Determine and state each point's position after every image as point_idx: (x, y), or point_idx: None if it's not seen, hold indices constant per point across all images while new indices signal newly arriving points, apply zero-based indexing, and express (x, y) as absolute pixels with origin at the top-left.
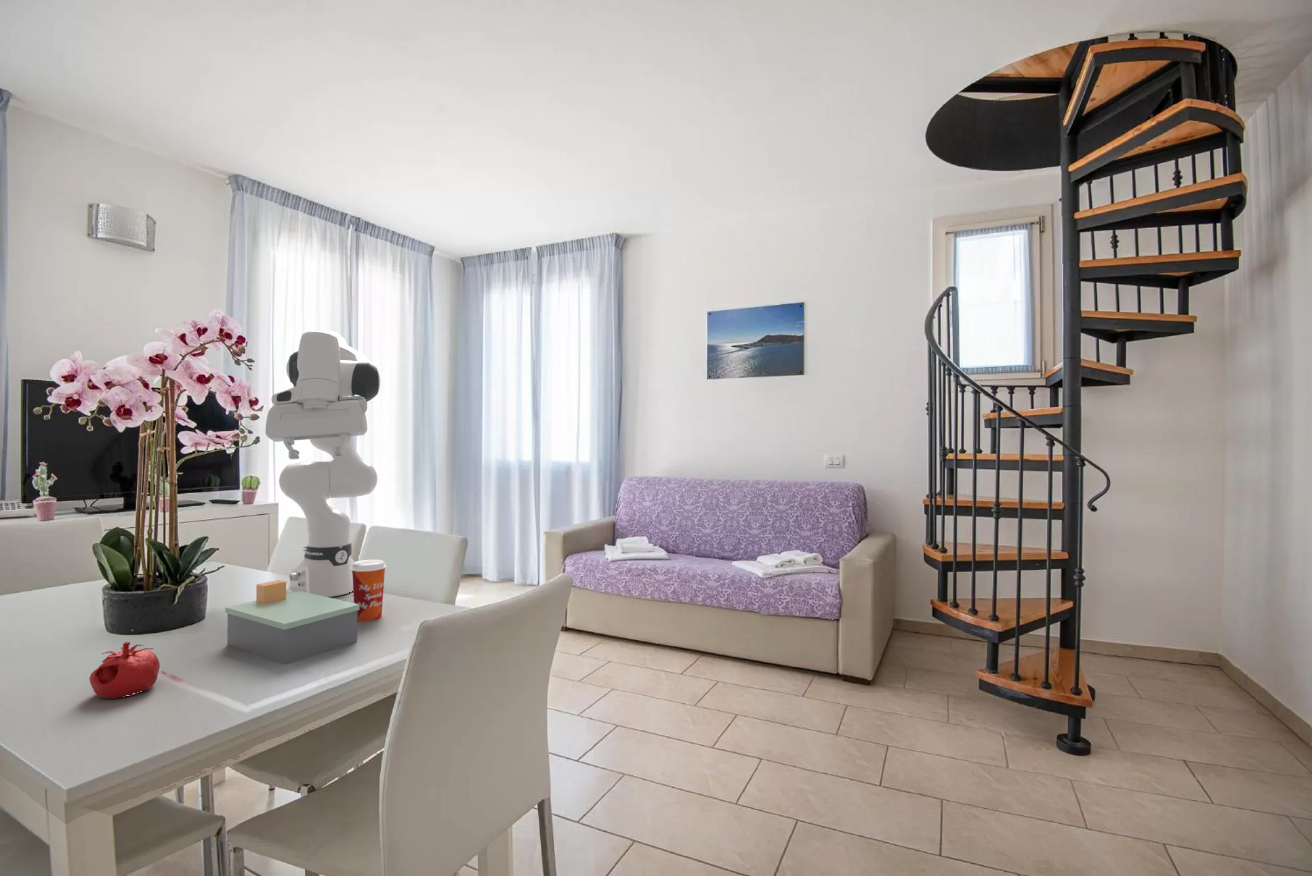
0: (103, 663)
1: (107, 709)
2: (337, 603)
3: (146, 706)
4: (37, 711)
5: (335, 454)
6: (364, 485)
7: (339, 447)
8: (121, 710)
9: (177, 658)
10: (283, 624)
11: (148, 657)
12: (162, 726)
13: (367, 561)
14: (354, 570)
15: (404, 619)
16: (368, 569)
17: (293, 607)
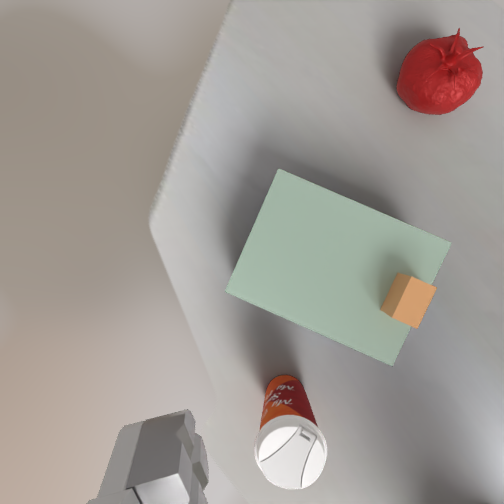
0: (460, 38)
1: (400, 37)
2: (266, 292)
3: (361, 52)
4: (479, 19)
5: (188, 410)
6: None
7: (130, 475)
8: (380, 38)
9: (458, 199)
10: (281, 170)
11: (421, 76)
12: (297, 10)
13: (299, 466)
14: (304, 418)
15: (232, 408)
16: (274, 423)
17: (328, 258)
